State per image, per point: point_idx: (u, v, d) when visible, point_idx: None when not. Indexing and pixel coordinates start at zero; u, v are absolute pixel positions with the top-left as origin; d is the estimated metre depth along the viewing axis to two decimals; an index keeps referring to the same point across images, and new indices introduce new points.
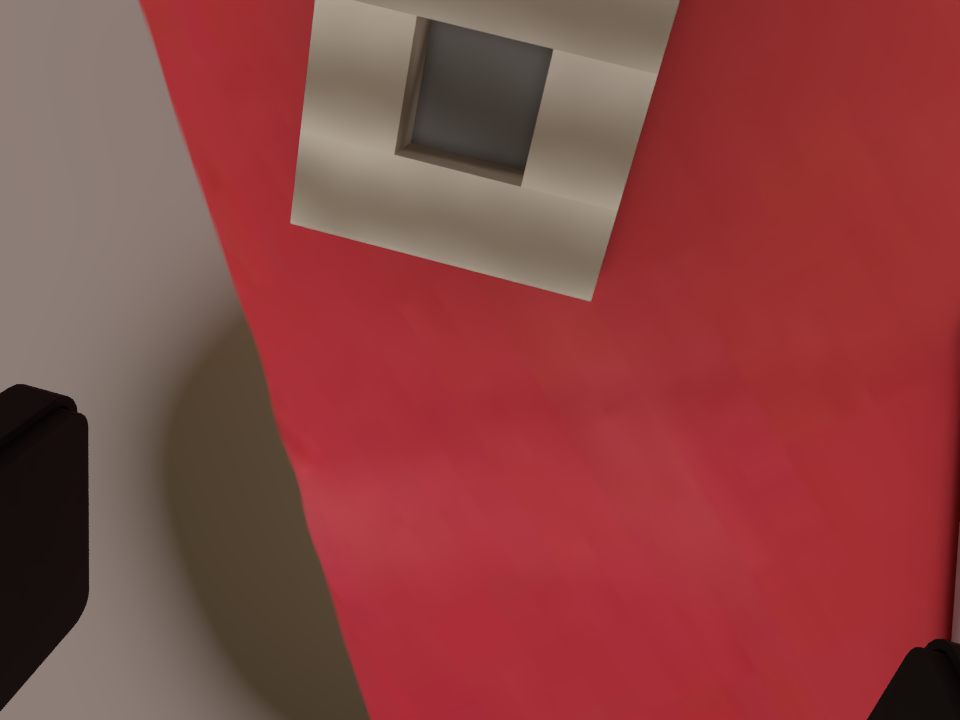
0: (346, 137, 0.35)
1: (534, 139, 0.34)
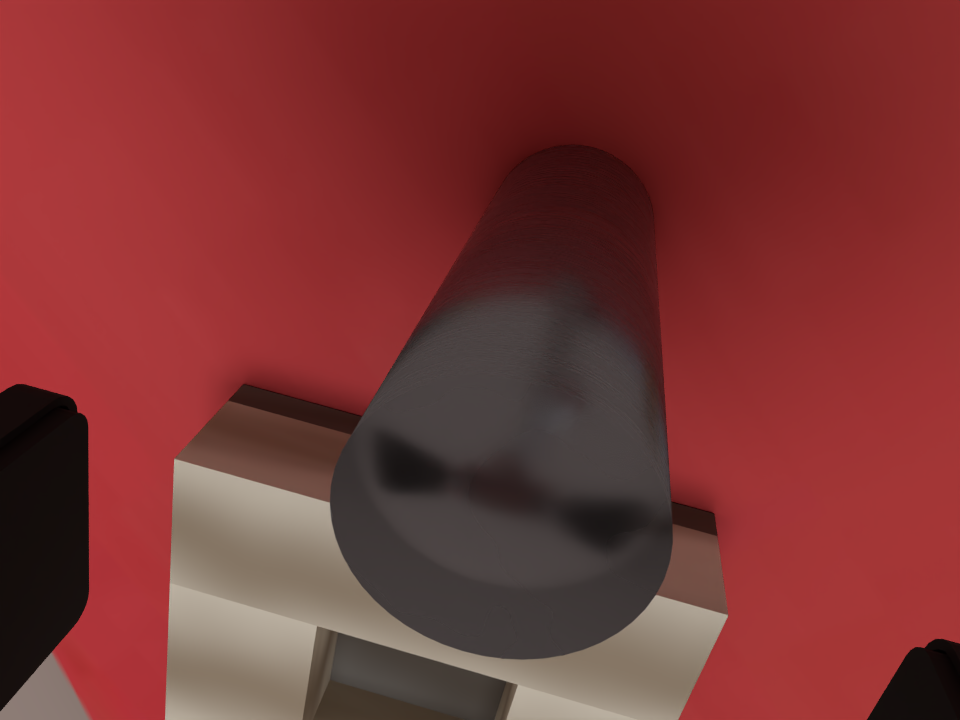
0: None
1: None
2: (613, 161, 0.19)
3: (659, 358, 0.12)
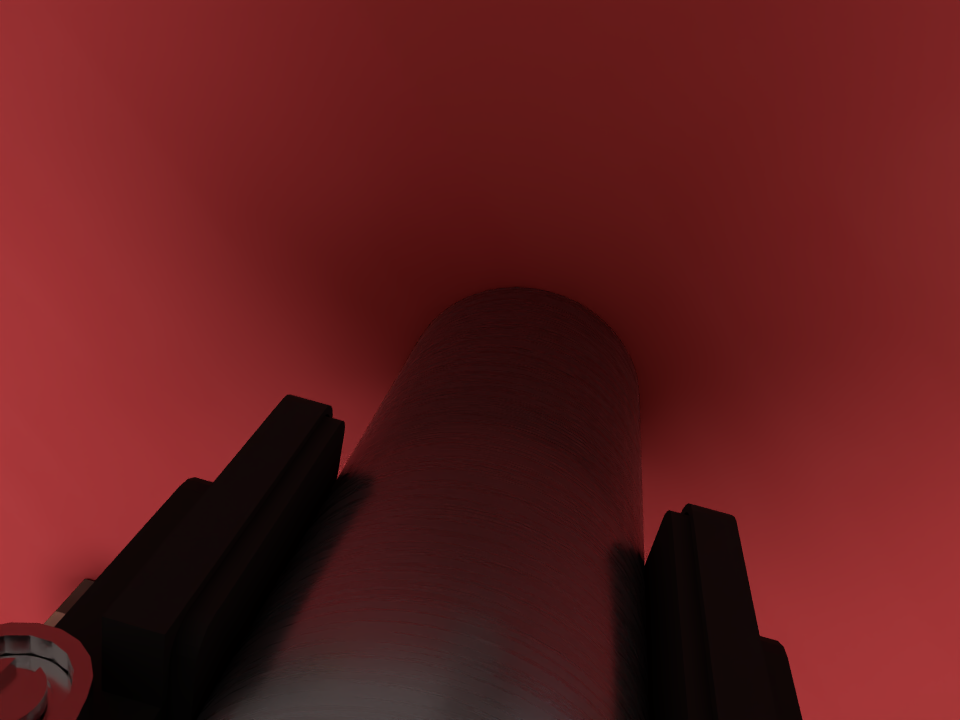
0: None
1: None
2: (579, 317, 0.13)
3: None
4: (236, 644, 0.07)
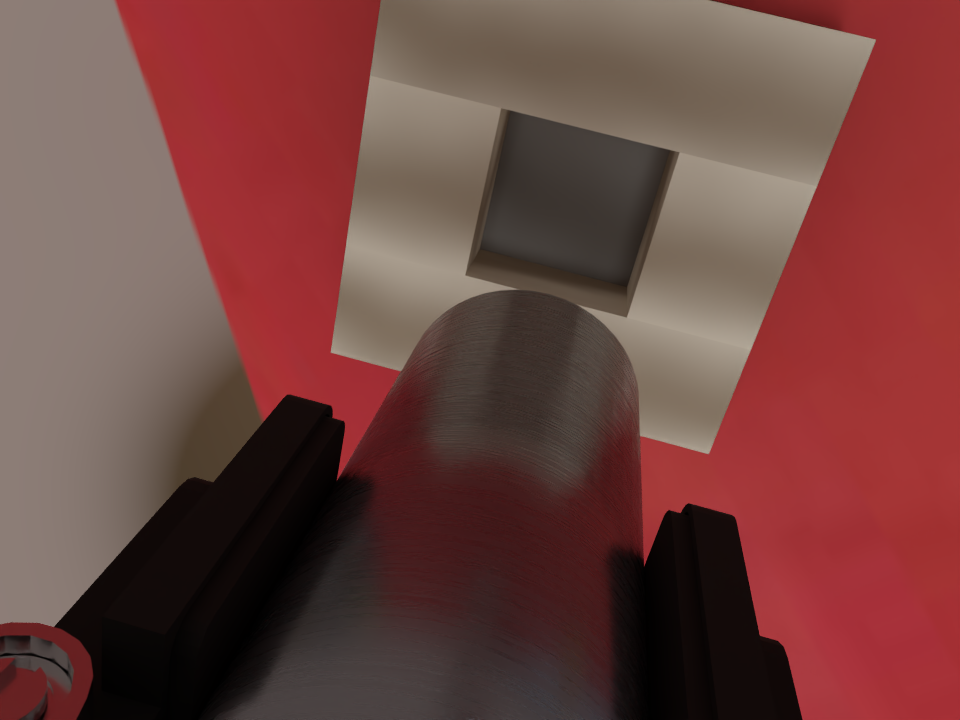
0: (404, 253, 0.28)
1: (647, 261, 0.26)
2: (578, 319, 0.13)
3: None
4: (237, 644, 0.07)
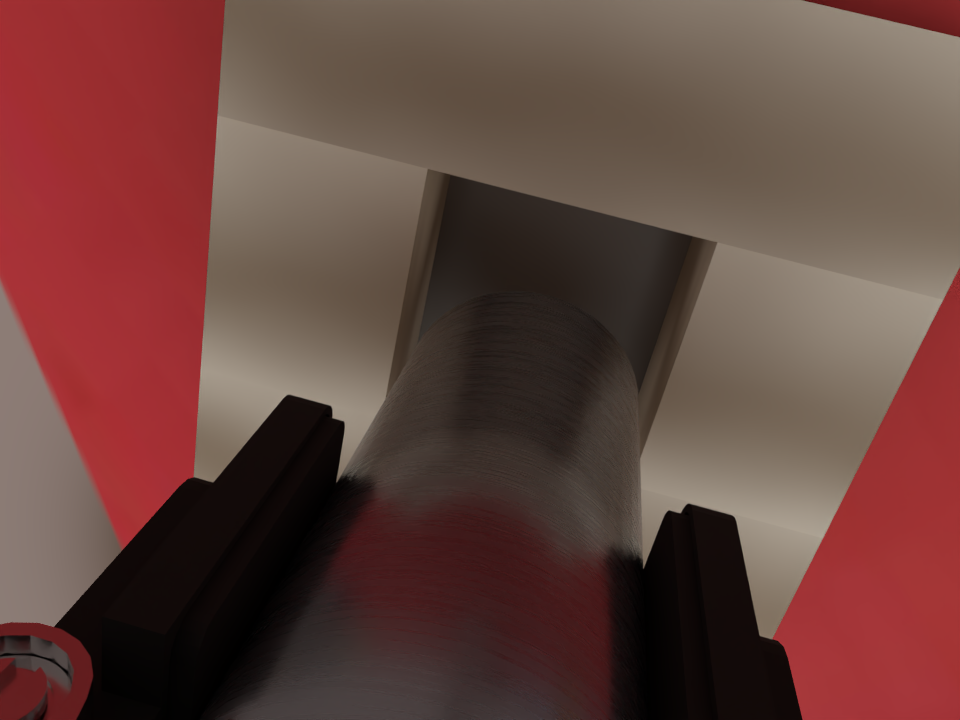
0: (289, 384, 0.18)
1: (663, 406, 0.17)
2: (578, 320, 0.13)
3: None
4: (236, 644, 0.07)
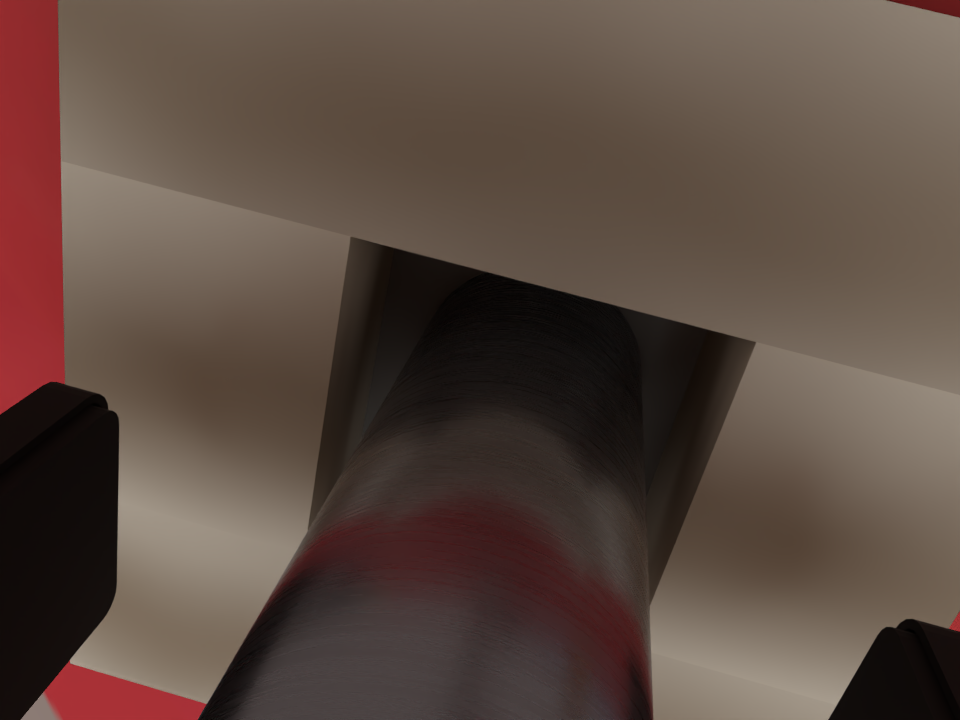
0: (181, 508, 0.14)
1: (678, 551, 0.12)
2: None
3: None
4: None
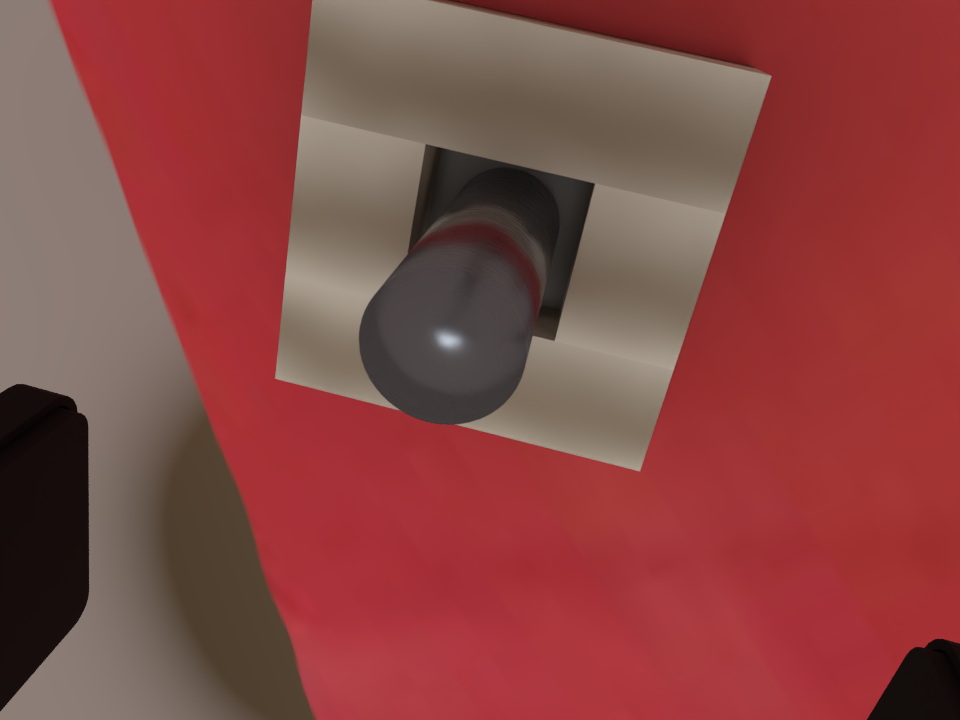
0: (341, 283, 0.29)
1: (571, 287, 0.27)
2: (529, 177, 0.29)
3: (535, 277, 0.22)
4: None
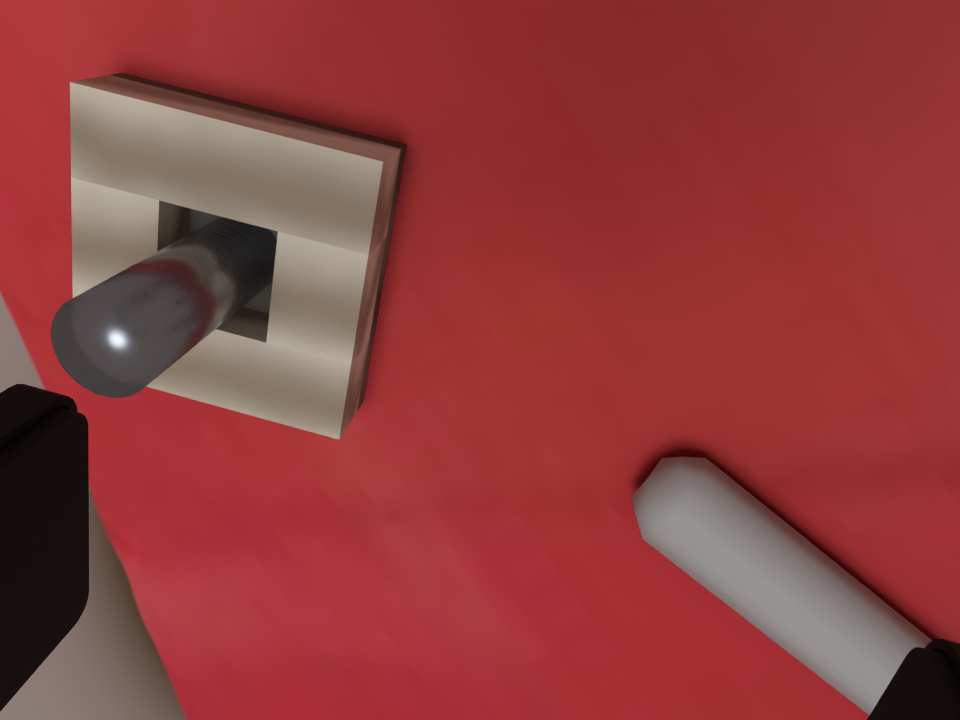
0: None
1: (272, 304, 0.38)
2: None
3: (194, 300, 0.32)
4: None
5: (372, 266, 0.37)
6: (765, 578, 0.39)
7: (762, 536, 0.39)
